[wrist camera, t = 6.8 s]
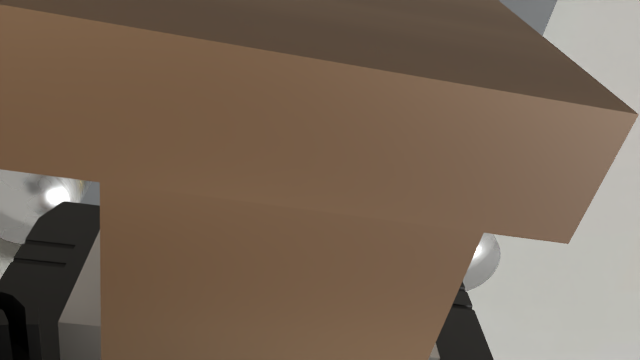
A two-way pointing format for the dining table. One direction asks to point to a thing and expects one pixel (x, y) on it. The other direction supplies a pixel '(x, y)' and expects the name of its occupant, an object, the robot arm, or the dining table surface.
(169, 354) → the wooden arch bridge
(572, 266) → the dining table surface
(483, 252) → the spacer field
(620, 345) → the dining table surface
